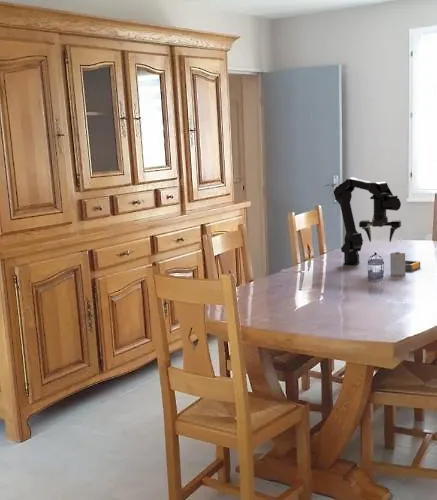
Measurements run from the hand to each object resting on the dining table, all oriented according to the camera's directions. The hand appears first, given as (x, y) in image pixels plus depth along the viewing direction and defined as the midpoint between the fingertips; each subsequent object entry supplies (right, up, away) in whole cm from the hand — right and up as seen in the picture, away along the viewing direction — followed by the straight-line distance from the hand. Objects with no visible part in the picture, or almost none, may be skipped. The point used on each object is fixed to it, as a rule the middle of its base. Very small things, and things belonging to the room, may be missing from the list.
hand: (380, 241), depth 309 cm
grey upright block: (+5, -15, -14) cm, 21 cm away
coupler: (+12, -13, -2) cm, 18 cm away
